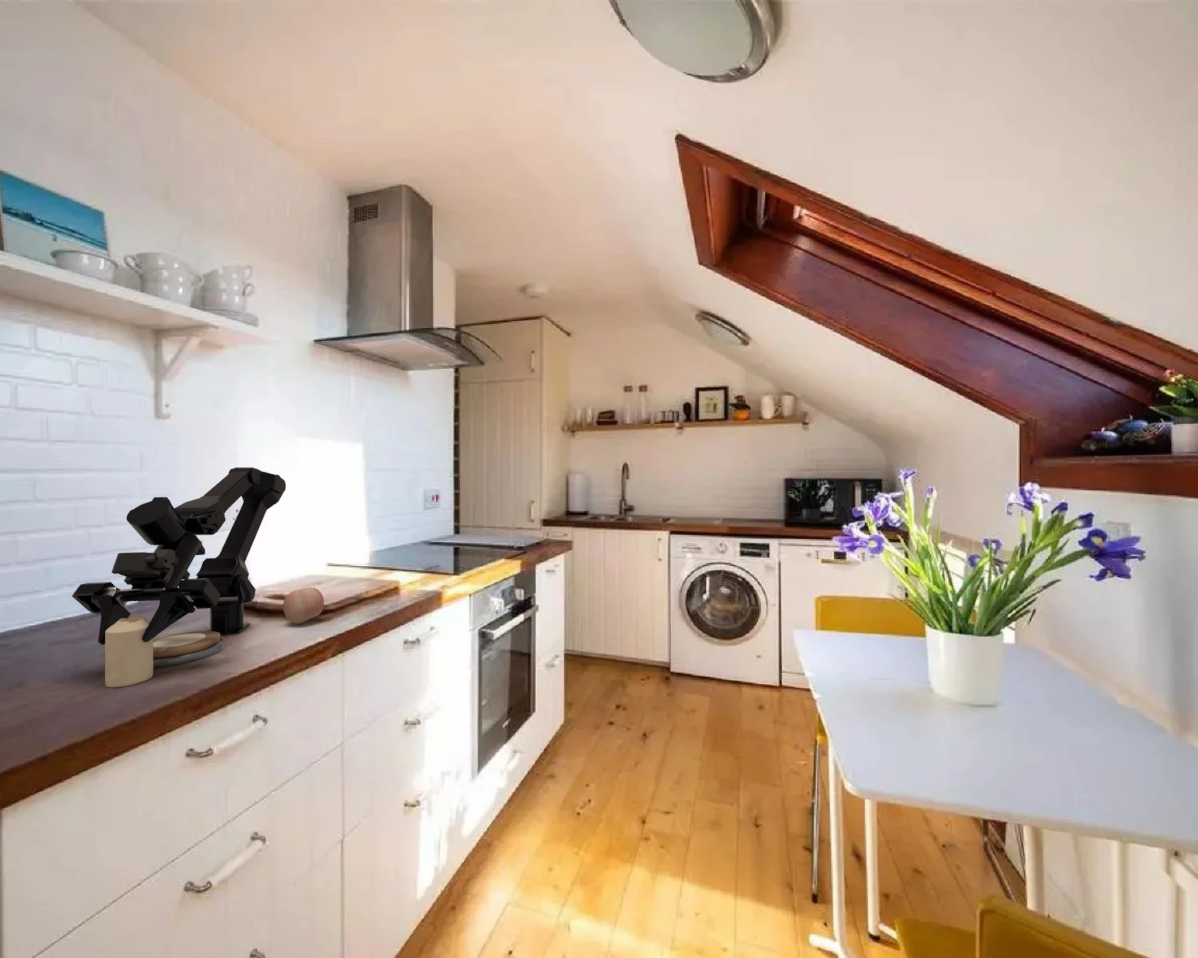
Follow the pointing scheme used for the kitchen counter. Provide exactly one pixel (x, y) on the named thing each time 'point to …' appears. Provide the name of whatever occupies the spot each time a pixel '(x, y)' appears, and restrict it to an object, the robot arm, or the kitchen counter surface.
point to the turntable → (184, 643)
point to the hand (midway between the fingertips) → (122, 642)
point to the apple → (303, 605)
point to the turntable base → (188, 656)
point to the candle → (127, 653)
